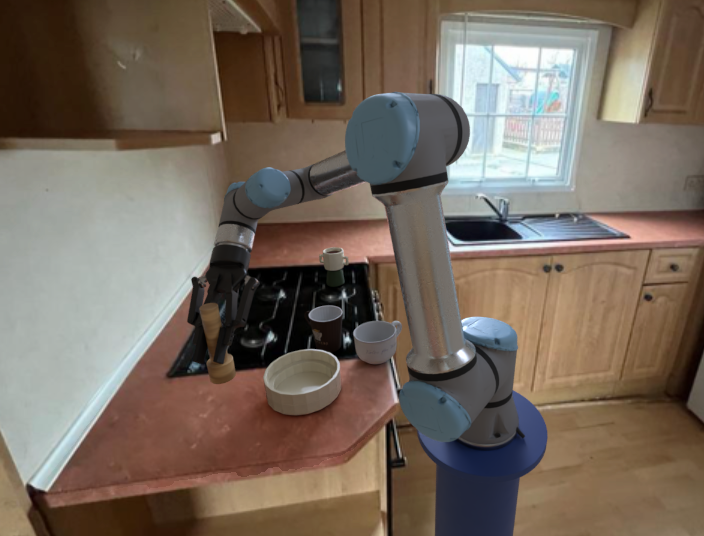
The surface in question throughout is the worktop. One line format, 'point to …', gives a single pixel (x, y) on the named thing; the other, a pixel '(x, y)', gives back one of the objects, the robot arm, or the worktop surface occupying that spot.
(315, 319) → the coffee mug
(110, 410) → the worktop surface
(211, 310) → the wooden masher
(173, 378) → the worktop surface
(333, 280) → the character mug
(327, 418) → the worktop surface
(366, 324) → the teacup
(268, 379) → the mixing bowl
